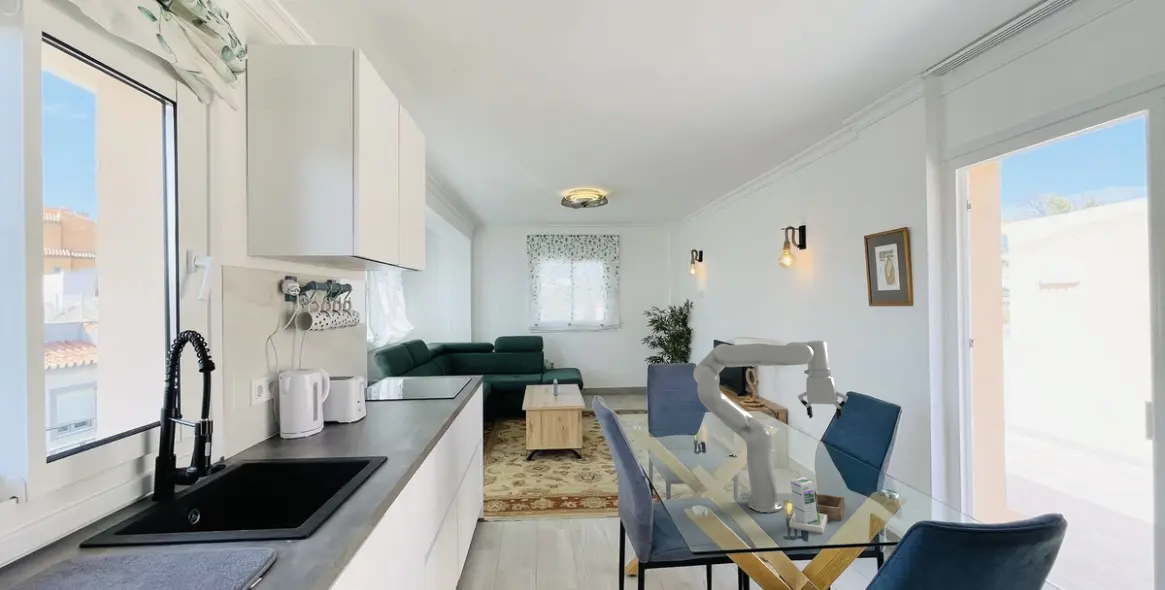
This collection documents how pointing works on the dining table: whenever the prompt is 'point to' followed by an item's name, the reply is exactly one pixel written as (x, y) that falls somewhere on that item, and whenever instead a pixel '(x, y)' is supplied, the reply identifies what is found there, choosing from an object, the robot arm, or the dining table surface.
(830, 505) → the holder collar
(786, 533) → the dining table surface
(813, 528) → the parts tray
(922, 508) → the dining table surface
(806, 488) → the syrup box
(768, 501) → the robot arm
